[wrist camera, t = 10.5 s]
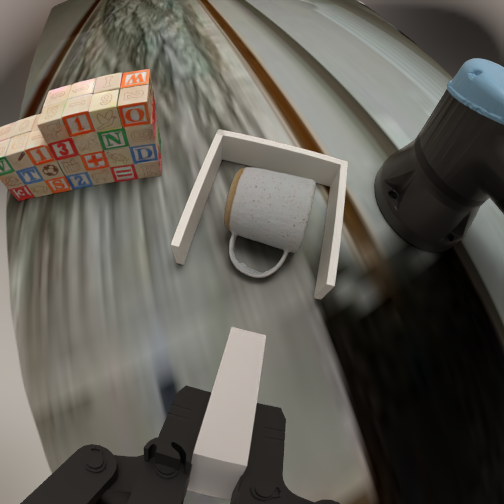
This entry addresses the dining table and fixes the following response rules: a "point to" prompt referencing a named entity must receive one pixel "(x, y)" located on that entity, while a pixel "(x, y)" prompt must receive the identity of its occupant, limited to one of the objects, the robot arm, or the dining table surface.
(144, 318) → the dining table surface
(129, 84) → the stack of blocks
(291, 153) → the white u-shaped bracket
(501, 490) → the dining table surface
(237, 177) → the ceramic mug
